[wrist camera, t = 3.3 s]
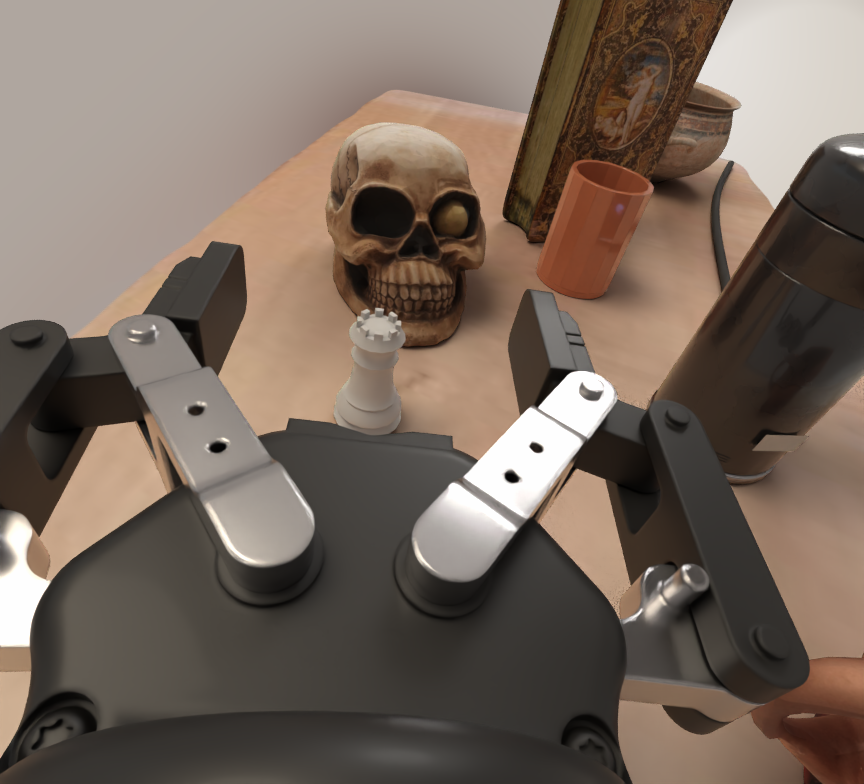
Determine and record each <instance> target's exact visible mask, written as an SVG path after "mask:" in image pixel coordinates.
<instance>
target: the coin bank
mask: <svg viewBox="0 0 864 784" xmlns="http://www.w3.org/2000/svg"><path fill="white" fill-rule="evenodd" d="M325 209H326V220H327V226H328V232H329V234H330V235H331V236H332V238H333V241H334V243H335V250H334V261H333V277H334V282H335V283H336V286H337V289H338V291H339V293H340V294H341V296H342V297H343V299H344V300H345V301H346V303H347V304H348V305H349V307H350V308H351V310H352V311H353V312H354V313H356V314H357V315H358V316H359V317H361V311H364V310H366V309H368V310H369V311H370V315H372V314H375V308H382V309H384V312H383V315H384V316H387V317H389V313H390V312H393V313H395V314H396V315H398V317H397V321H401V328H402V330H403V331H404V333H405V342H404V344H403V346H407V347H408V346H427V345H435V344H437V343H439V342H441V341H442V340H444V339H446V338H449V337H450V336H451V335H452V334H453V332H454V331H455V329H456V327H457V326H458V324H459V321H460V316H461V313H462V311H463V310H464V304H465V297H466V277H465V270H472V269H478V268H479V267H481V266H482V264H483V262H484V256H485V244H486V231H485V225H484V222H483V219H482V217H481V214H480V202H479V198H478V196H477V194H476V192H475V190H474V189H473V187H472V185H471V182H470V179H469V173H468V166H467V162H466V159H465V156H464V154H463V152H462V151H461V150H460V149H459V148H458V147H457V146H456V145H455V144H454V143H453V142H452V141H450V140H448V139H447V138H445V137H444V136H442V135H440V134H439V133H436V132H434V131H432V130H429V129H426V128H422V127H419V126H413V125H407V124H400V123H376V124H371V125H367V126H365V127H362V128H360V129H358V130H357V131H355V132H354V133H353V134H351V135H350V136H349V137H348V138H347V139H346V140H345V141H344V143H343V144H342V146H341V148H340V150H339V152H338V155H337V157H336V160H335V162H334V165H333V168H332V175H331V192H330V193H329V195H328V200H327V204H326V208H325Z"/></svg>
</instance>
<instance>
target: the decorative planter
mask: <svg viewBox="0 0 864 784" xmlns="http://www.w3.org/2000/svg"><path fill="white" fill-rule="evenodd" d="M809 663H810V672H809V676H808V679H807V680H806V682H805V683H804V684H803V685H801V686H800V687H798V688H796V689H794V690H792V691H790V692H788V693H786V694H784V695H782V696H780V697H778V698H777V699H775V700H773V701H771V702H769V703H767V704H765V705H763V706H761V707H759V708H757V709H755V710H754V711H752V712H751V715H752V718H753V721H754V723H755V724H756V725H757V726H758V728H759V729H760V730H761V731H762V732H763V734H764V735H765V736H766V737H767V738H769V739H774V738H778V739H779V740H780V741H781V743H782V744H783V745H784V746H785V747H786V748H787V749H788V750H789V751H790V752H791V753H792V754H793V755H794V756H795V757H796V758H797V759H798V760H799V761H800V762H801V763H802V764H803V765H804V784H864V653H863V656H862V658H847V657H826V658H819V659H812V660H809ZM800 713H814V714H815V716H814V718H788V716H789V715H792V714H800Z"/></svg>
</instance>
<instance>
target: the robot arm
mask: <svg viewBox="0 0 864 784" xmlns="http://www.w3.org/2000/svg"><path fill="white" fill-rule="evenodd" d="M733 165H734V162H733V161H729V162H728V164H727V166H726V167H725V169H724V171H723V173H722V175H721V177H720V179H719V181H718V183H717V186H716V189H715V192H714V195H713V201H712V210H711V222H712V233H713V241H714V247H715V253H716V258H717V264H718V270H719V275H720V281H721V288H722V293H721V294H720V296H719V297H718V299H717V300H716V302H715V303H714V305H713V307H712V308H711V310H710V311H709V313H708V314H707V316H706V317H705V319H704V320H703V322H702V323H701V325H700V327H699V328H698V330H697V331H696V333H695V334H694V336H693V337H692V339H691V340H690V342H689V344H688V345H687V347H686V348H685V350H684V351H683V353H682V354H681V356H680V357H679V359H678V360H677V362H676V363H675V365H674V366H673V368H672V369H671V371H670V372H669V374H668V376H667V377H666V379H665V380H664V382H663V383H662V385H661V386H660V388H659V389H658V390H657V391H656V392H655V393H654V395H653V396H652V398H651V399H650V401H649V403H648V405H647V411H646V410H643V409H641V408H638V407H635V406H632V405H629V404H627V403H624V402H622V401H620V400H618V399H617V398H618V397H617V392H616V390H615V388H614V387H613V386H612V384H611V383H609V382H608V381H607V380H606V379H604V378H603V377H601V376H599V375H597V374H595V371H594V369H593V366H592V363H591V360H590V357H589V355H588V352H587V349H586V347H585V346H584V345H585V344H584V341H583V338H582V337H581V333H580V330H579V327H578V324H577V323H576V321H575V320H574V319H573V318H572V317H571V316H570V315H569V314H568V313H567V312H564V311H559V310H558V307H557V304H556V301H555V298H554V295H553V293H551V292H544V291H538V290H531V289H527V290H526V291H525V293H524V295H523V297H522V300H521V303H520V306H519V309H518V312H517V315H516V318H515V321H514V323H513V326H512V329H511V332H510V337H509V343H508V352H509V358H510V363H511V369H512V374H513V379H514V385H515V390H516V396H517V401H518V406H519V412H520V418H519V419H518V420H517V421H516V422H515V423H514V424H513V425H512V426H511V427H510V428H509V429H508V430H507V432H506V433H505V434H504V435H503V436H502V437H501V438H500V439H499V440H498V441H497V442H496V443H495V444H494V445H493V446H492V447H491V448H490V450H489V451H488V452H487V453H486V454H485V455H484V456H483V457H482V458H481V459H480V460H479V461H478V460H476V459H475V458H473V457H472V456H470V455H468V454H466V453H464V452H462V451H459V450H457V449H454V448H453V441H452V436H446V435H437V434H428V433H419V432H406V433H395V434H384V435H368V434H365V433H362V432H358V431H355V430H352V429H349V428H346V427H343V426H339V425H336V424H333V423H329V422H320V421H311V420H302V419H293V418H289V421H288V425H287V428H286V430H283V431H276V432H271V433H267V434H264V435H260V436H258V437H257V435H256V434H255V432H254V431H253V429H252V428H251V426H250V425H249V423H248V422H247V420H246V419H245V417H244V416H243V414H242V413H241V411H240V410H239V408H238V407H237V405H236V404H235V402H234V400H233V399H232V397H231V396H230V394H229V393H228V391H227V390H226V388H225V387H224V385H223V384H222V382H221V381H220V379H219V378H218V375H219V372H220V370H221V368H222V365H223V363H224V361H225V359H226V356H227V354H228V352H229V349H230V347H231V345H232V343H233V340H234V338H235V336H236V333H237V331H238V329H239V326H240V324H241V322H242V320H243V317H244V314H245V310H246V304H247V290H246V277H245V265H244V253H243V248H242V246H241V245H235V244H228V243H221V242H215V241H212V242H211V243H210V245H209V246H208V248H207V249H206V251H205V253H204V254H203V256H202V257H201V258H198V257H189V258H187V259H185V260H184V261H182V262H180V263H179V264H177V265H176V266H175V267H174V269H173V270H172V272H171V273H170V274H169V276H168V278H167V279H166V280H165V282H164V283H163V285H162V288H160V289H159V291H158V292H157V293H156V295H155V296H154V298H153V299H152V301H151V302H150V304H149V305H148V307H147V308H146V310H145V311H144V313H143V314H142V315H135V316H131V317H127V318H125V319H122V320H120V321H119V322H117V323H116V324H114V325H113V326H112V327H111V329H110V330H109V333H108V335H107V336H100V337H87V338H73V339H69V338H68V336H67V333H66V331H65V329H64V328H63V327H62V326H61V325H59V324H57V323H55V322H51V321H45V320H30V321H23V322H19V323H15V324H11V325H9V326H7V327H5V328H3V329H1V330H0V672H22V671H31V680H30V687H29V694H28V698H27V702H26V707H25V711H24V714H23V717H22V720H21V723H20V725H19V727H18V730H17V732H16V734H15V736H14V738H13V739H12V741H11V743H10V744H9V746H8V747H7V749H6V751H5V752H4V754H3V755H2V757H1V758H0V784H632V781H631V779H630V777H629V774H628V772H627V769H626V766H625V764H624V761H623V758H622V755H621V751H620V746H619V740H618V706H619V700H626V701H634V702H643V703H651V704H660V705H662V706H663V708H664V710H665V711H666V713H667V714H668V715H669V717H670V718H671V719H672V720H673V721H674V722H675V723H677V724H678V725H679V726H680V727H682V728H683V729H685V730H687V731H689V732H691V733H694V734H700V735H703V734H709V733H711V732H713V731H715V730H717V729H719V728H721V727H723V726H725V725H727V724H729V723H731V722H732V721H734V720H736V719H738V718H740V717H742V716H744V715H746V714H748V713H750V712H752V711H754V710H755V709H757V708H759V707H761V706H763V705H765V704H767V703H769V702H771V701H773V700H775V699H777V698H778V697H780V696H782V695H784V694H786V693H788V692H790V691H792V690H794V689H796V688H798V687H800V686H801V685H803V684H804V683H805V682H806V680H807V679H808V676H809V672H810V663H809V659H808V655H807V652H806V650H805V648H804V645H803V643H802V641H801V639H800V637H799V634H798V632H797V630H796V628H795V626H794V624H793V621H792V619H791V617H790V615H789V613H788V610H787V608H786V606H785V604H784V602H783V599H782V597H781V595H780V593H779V591H778V589H777V586H776V584H775V582H774V580H773V578H772V575H771V573H770V571H769V569H768V567H767V565H766V562H765V560H764V558H763V556H762V554H761V551H760V549H759V547H758V545H757V543H756V540H755V538H754V536H753V534H752V532H751V530H750V527H749V525H748V523H747V521H746V519H745V516H744V514H743V512H742V510H741V508H740V506H739V503H738V501H737V499H736V497H735V495H734V492H733V490H732V488H731V486H730V484H729V483H735V484H748V483H753V482H757V481H759V480H761V479H763V478H764V477H765V476H766V475H767V474H768V473H769V472H770V471H771V470H772V469H773V468H774V467H775V465H776V463H777V462H778V461H779V460H780V459H781V458H782V457H783V456H784V455H785V454H786V453H787V452H788V451H795V450H796V449H797V448H798V447H799V446H800V445H801V444H802V443H803V442H804V441H805V440H806V439H807V438H808V437H809V436H804V435H805V434H806V433H807V432H808V431H809V430H810V429H811V428H812V427H813V426H814V425H815V424H816V423H817V422H818V421H819V420H820V419H821V418H822V417H823V416H824V415H825V414H826V413H827V412H828V411H829V410H830V409H831V408H832V407H833V406H834V405H835V404H836V403H837V402H838V401H839V400H840V399H841V398H842V397H843V396H844V395H845V394H846V393H847V392H848V391H849V390H850V389H851V388H852V387H853V386H854V385H855V384H856V383H857V382H858V381H859V380H860V379H861V378H862V377H863V376H864V133H860V134H847V135H840V136H836V137H833V138H831V139H828V140H826V141H825V142H824V143H822V144H820V145H819V146H818V148H816V149H815V150H814V151H813V152H812V154H811V155H810V156H809V158H808V159H807V161H806V162H805V164H804V165H803V167H802V168H801V170H800V171H799V173H798V174H797V176H796V177H795V179H794V181H793V182H792V184H791V185H790V188H789V189H788V191H787V192H786V193H785V195H784V197H783V198H782V200H781V201H780V203H779V204H778V206H777V207H776V209H775V210H774V212H773V213H772V215H771V217H770V218H769V220H768V221H767V223H766V224H765V226H764V227H763V229H762V230H761V232H760V234H759V235H758V237H757V239H756V240H755V242H754V243H753V245H752V246H751V248H750V250H749V251H748V253H747V254H746V256H745V257H744V259H743V260H742V262H741V263H740V265H739V266H738V268H737V270H736V271H735V273H734V274H733V276H732V277H731V279H730V275H729V270H728V265H727V261H726V256H725V251H724V246H723V241H722V234H721V227H720V216H719V206H720V197H721V192H722V189H723V186H724V183H725V181H726V178H727V176H728V174H729V172H730V171H731V169H732V167H733ZM134 421H135V424H136V426H137V428H138V430H139V432H140V434H141V436H142V438H143V441H144V443H145V445H146V447H147V449H148V451H149V453H150V455H151V457H152V459H153V461H154V463H155V465H156V467H157V469H158V471H159V473H160V476H161V478H162V480H163V483H164V486H165V489H166V491H167V495H165V496H164V497H162V498H161V499H159V500H158V501H156V502H155V503H153V504H152V505H150V506H149V507H148V508H146V509H145V510H143V511H142V512H140V513H139V514H137V515H136V516H134V517H133V518H131V519H130V520H128V521H127V522H125V523H124V524H123V525H121V526H120V527H118V528H117V529H115V530H114V531H112V532H111V533H109V534H108V535H106V536H105V537H103V538H102V539H100V540H99V541H98V542H96V543H95V544H93V545H92V546H90V547H89V548H87V549H86V550H84V551H83V552H81V553H80V554H79V555H77V556H76V557H75V558H73V559H72V560H71V561H70V562H69V563H68V564H67V565H65V566H64V567H63V568H62V569H61V570H60V571H59V573H58V574H57V575H56V576H55V577H54V578H53V580H52V581H51V580H47V579H46V577H47V574H48V570H49V567H50V555H49V553H48V551H47V549H46V548H45V546H44V545H43V543H42V541H41V540H40V538H39V537H40V535H41V533H42V531H43V529H44V527H45V525H46V523H47V522H48V520H49V518H50V516H51V514H52V512H53V510H54V508H55V506H56V505H57V503H58V501H59V499H60V497H61V495H62V493H63V491H64V489H65V487H66V486H67V484H68V482H69V480H70V478H71V476H72V474H73V472H74V470H75V469H76V467H77V465H78V463H79V461H80V459H81V457H82V455H83V453H84V452H85V450H86V448H87V446H88V444H89V442H90V440H91V438H92V436H93V434H94V433H95V431H96V429H97V427H98V426H103V425H111V424H118V423H126V422H134ZM577 469H580V470H582V471H585V472H588V473H590V474H593V475H595V476H598V477H601V478H603V479H606V484H607V489H608V493H609V497H610V501H611V505H612V509H613V513H614V517H615V522H616V526H617V530H618V534H619V538H620V542H621V546H622V550H623V555H624V559H625V563H626V567H627V571H628V575H629V579H630V583H631V587H630V588H629V589H628V590H627V591H626V592H625V593H624V594H623V596H622V597H621V600H620V605H619V609H620V619H619V618H618V616H617V614H616V612H615V610H614V608H613V607H612V605H611V604H610V602H609V601H608V599H607V598H606V597H605V595H604V594H603V593H602V592H601V591H600V589H599V588H598V587H597V586H596V585H595V584H594V583H593V582H592V581H591V580H590V579H589V577H588V576H587V575H586V574H585V573H584V572H583V571H582V570H581V569H580V568H579V567H578V565H577V564H576V563H575V562H574V561H573V560H572V559H571V558H570V557H569V556H568V555H567V553H566V552H565V551H564V550H563V549H562V548H561V547H560V546H559V545H558V544H557V543H556V541H555V540H554V539H553V538H552V537H551V536H550V535H549V534H548V533H547V532H546V531H545V529H544V528H543V527H542V526H541V525H540V522H541V521H542V519H543V517H544V516H545V514H546V513H547V511H548V510H549V508H550V507H551V505H552V504H553V503H554V501H555V500H556V498H557V497H558V496H559V494H560V493H561V491H562V490H563V489H564V487H565V486H566V484H567V483H568V481H569V480H570V479H571V477H572V476H573V474H574V473H575V472H576V470H577Z"/></svg>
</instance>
